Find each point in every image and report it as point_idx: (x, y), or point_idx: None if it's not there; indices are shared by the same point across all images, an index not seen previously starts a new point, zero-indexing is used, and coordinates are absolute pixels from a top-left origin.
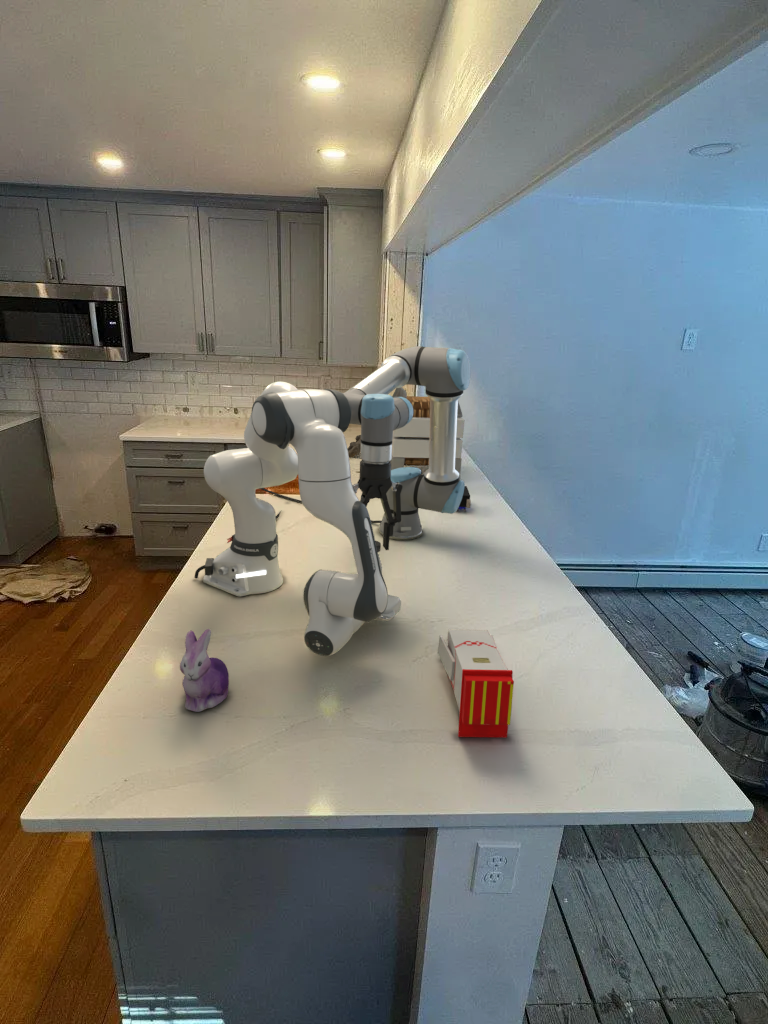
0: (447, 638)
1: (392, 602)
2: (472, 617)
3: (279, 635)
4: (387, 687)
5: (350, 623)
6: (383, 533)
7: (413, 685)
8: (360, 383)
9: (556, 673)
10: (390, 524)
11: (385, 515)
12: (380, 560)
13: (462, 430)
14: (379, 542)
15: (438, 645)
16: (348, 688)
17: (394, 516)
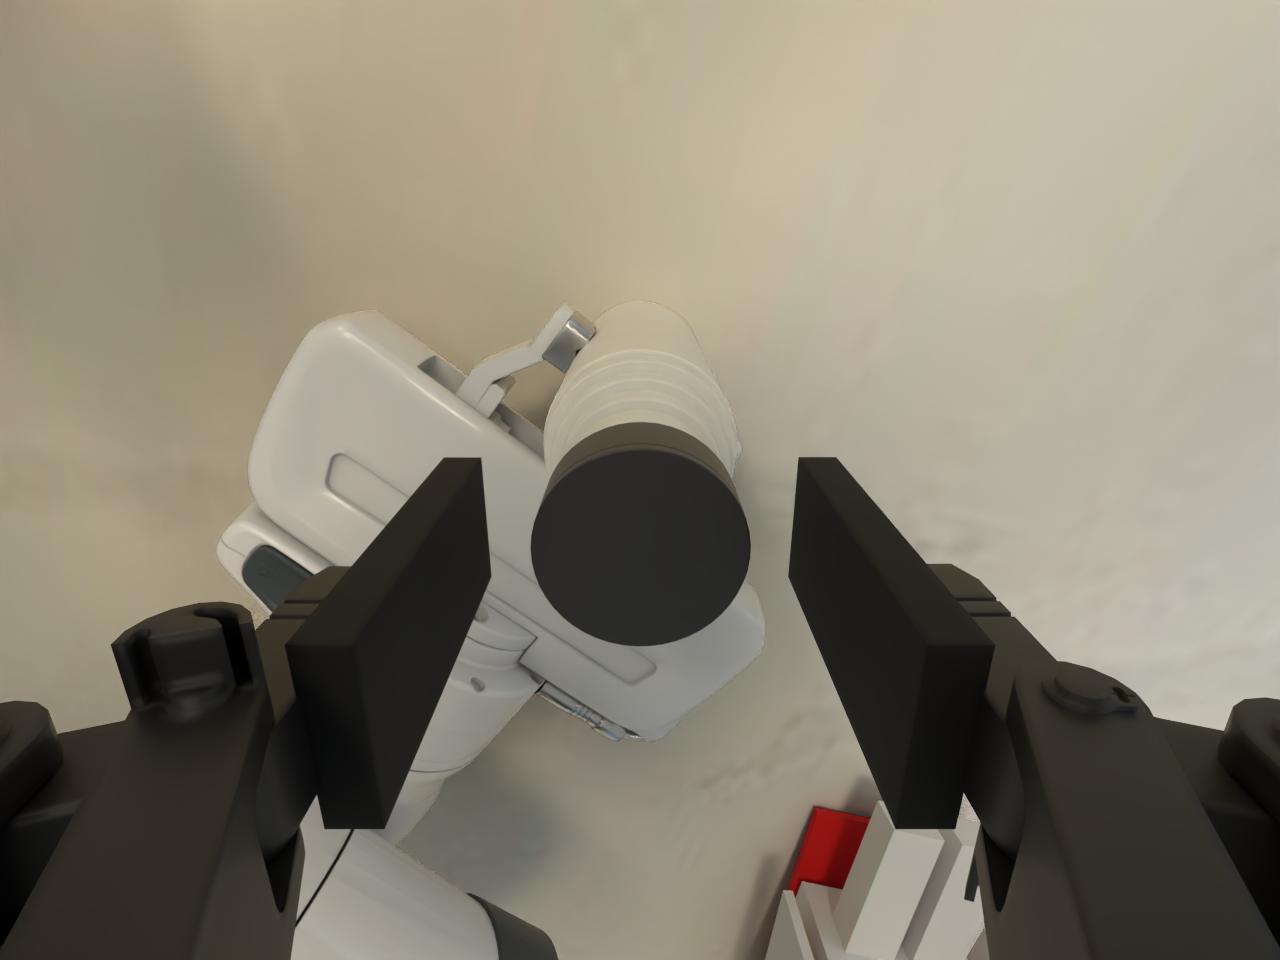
0: (879, 806)
1: (696, 687)
2: (1144, 552)
3: (137, 508)
4: (559, 881)
5: (411, 828)
6: (848, 534)
7: (650, 889)
8: None
9: None
10: (975, 876)
11: (1041, 805)
12: (729, 470)
13: None
14: (741, 544)
15: (792, 921)
16: (426, 863)
17: (1259, 833)
